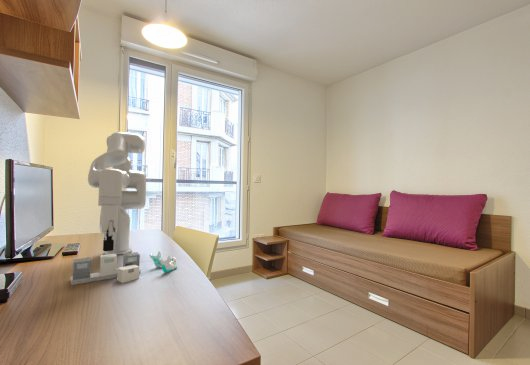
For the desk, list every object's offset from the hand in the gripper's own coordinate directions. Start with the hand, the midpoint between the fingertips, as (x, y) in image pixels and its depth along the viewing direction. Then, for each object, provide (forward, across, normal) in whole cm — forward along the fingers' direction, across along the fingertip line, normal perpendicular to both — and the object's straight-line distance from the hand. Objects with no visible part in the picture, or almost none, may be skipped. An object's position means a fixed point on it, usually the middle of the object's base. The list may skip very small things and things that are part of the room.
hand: (108, 250), depth 98 cm
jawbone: (+10, +1, +21) cm, 23 cm away
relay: (+10, +6, +6) cm, 13 cm away
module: (+8, 0, 0) cm, 9 cm away
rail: (+10, 0, 0) cm, 10 cm away
